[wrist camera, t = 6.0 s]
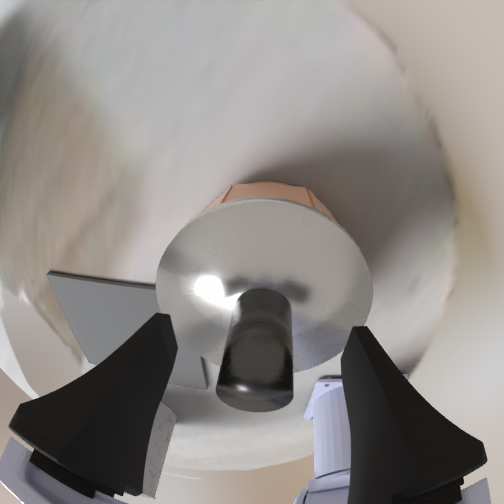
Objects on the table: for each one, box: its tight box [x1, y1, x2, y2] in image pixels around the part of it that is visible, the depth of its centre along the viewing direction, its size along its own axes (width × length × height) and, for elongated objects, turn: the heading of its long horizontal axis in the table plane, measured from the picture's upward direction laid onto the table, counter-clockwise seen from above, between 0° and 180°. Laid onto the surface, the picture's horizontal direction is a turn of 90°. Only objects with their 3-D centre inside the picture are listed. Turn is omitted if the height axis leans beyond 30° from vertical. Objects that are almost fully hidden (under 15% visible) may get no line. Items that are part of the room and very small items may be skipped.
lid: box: [156, 197, 373, 412], centre depth 10 cm, size 10×10×5 cm
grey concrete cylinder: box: [140, 402, 177, 499], centre depth 23 cm, size 10×10×12 cm
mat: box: [46, 272, 208, 390], centre depth 21 cm, size 14×12×1 cm
